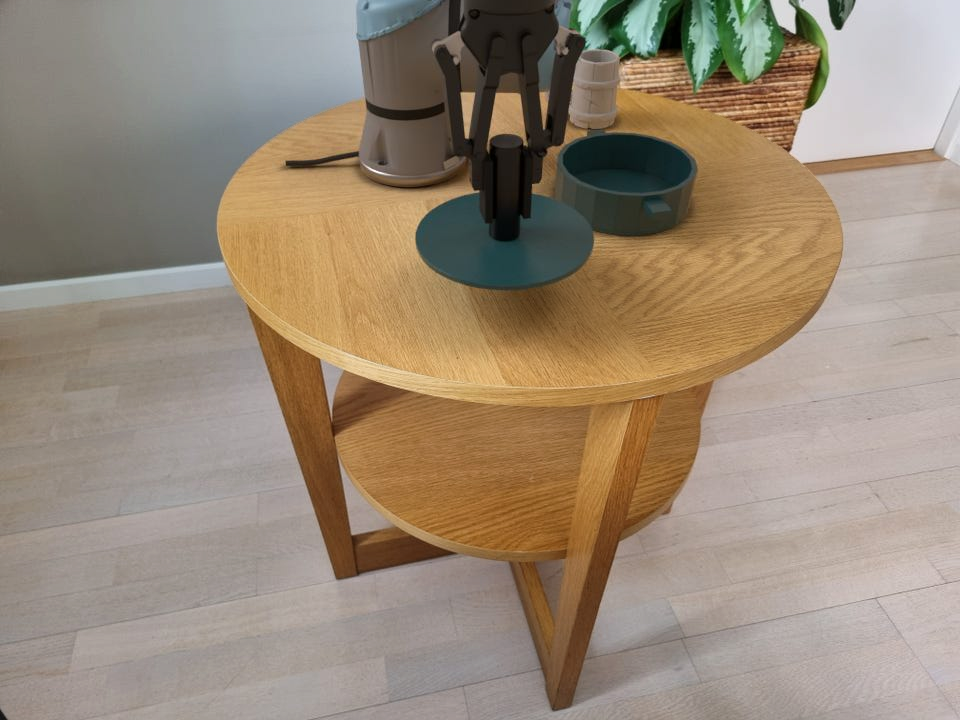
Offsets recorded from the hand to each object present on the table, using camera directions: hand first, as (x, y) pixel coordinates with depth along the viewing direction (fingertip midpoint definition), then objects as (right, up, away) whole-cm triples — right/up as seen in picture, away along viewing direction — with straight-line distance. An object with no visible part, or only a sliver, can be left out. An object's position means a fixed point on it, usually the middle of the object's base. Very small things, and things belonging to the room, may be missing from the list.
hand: (504, 213), depth 70 cm
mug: (+13, +23, +41) cm, 49 cm away
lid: (0, -2, +2) cm, 3 cm away
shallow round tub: (+16, +6, +21) cm, 27 cm away
